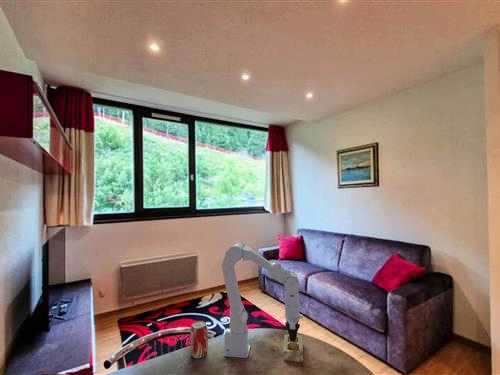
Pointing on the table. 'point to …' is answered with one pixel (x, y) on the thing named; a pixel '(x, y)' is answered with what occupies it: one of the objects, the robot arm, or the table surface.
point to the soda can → (198, 339)
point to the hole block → (293, 350)
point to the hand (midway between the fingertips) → (293, 338)
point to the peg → (293, 344)
